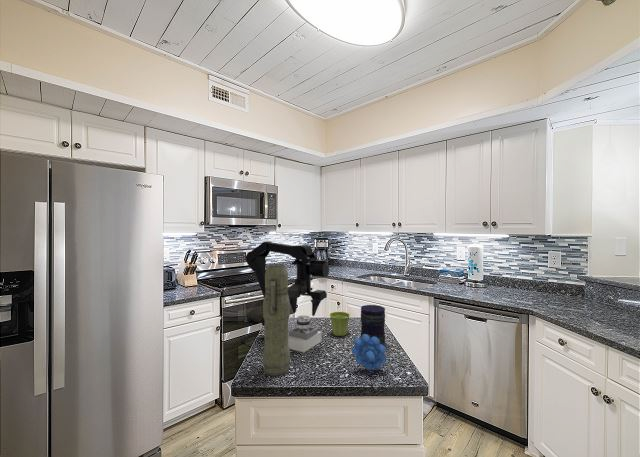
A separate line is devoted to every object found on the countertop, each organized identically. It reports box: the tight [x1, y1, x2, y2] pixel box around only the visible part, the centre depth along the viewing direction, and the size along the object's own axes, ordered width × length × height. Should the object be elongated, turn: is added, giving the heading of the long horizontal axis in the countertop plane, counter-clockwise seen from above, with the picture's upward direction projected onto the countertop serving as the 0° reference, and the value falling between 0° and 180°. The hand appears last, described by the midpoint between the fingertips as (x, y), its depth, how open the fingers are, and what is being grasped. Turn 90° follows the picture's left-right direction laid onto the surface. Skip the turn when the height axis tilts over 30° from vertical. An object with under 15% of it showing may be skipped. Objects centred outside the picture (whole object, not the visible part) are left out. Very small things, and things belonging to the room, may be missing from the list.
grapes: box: [351, 334, 388, 371], centre depth 94 cm, size 12×7×12 cm, turn 87°
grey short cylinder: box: [296, 314, 311, 334], centre depth 116 cm, size 6×6×7 cm
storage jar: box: [360, 304, 386, 346], centre depth 116 cm, size 10×10×15 cm
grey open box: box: [288, 326, 322, 353], centre depth 116 cm, size 9×13×6 cm
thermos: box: [262, 263, 291, 377], centre depth 96 cm, size 9×12×35 cm
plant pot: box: [328, 311, 351, 337], centre depth 128 cm, size 9×9×9 cm
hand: (303, 314), depth 116 cm, fingers open, 9 cm apart
